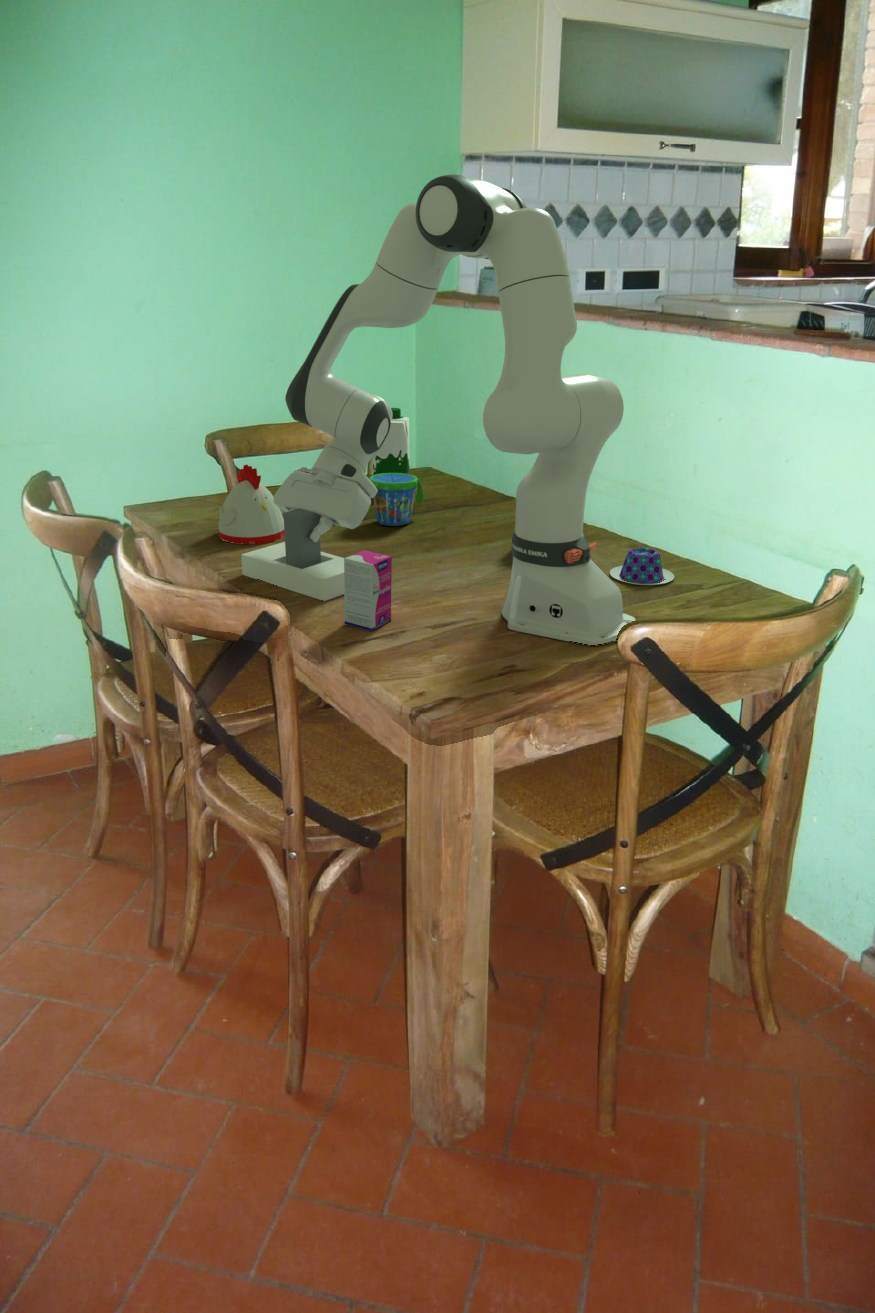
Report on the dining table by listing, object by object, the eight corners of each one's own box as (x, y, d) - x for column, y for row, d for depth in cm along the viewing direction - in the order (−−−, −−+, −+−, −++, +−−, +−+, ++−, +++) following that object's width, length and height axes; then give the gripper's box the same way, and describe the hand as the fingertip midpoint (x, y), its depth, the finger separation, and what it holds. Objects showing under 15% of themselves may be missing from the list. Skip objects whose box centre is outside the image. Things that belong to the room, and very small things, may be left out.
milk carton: (412, 489, 249) (412, 408, 241) (405, 497, 241) (404, 414, 233) (378, 487, 250) (376, 406, 242) (370, 496, 242) (368, 412, 234)
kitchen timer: (240, 549, 201) (235, 476, 196) (207, 534, 211) (200, 464, 205) (298, 536, 210) (294, 466, 204) (263, 523, 219) (258, 455, 213)
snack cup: (411, 512, 228) (410, 468, 224) (436, 523, 220) (436, 477, 216) (351, 522, 220) (350, 477, 216) (375, 533, 212) (374, 486, 208)
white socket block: (368, 585, 181) (367, 564, 179) (324, 601, 173) (323, 579, 172) (286, 561, 194) (285, 541, 192) (242, 574, 186) (241, 554, 185)
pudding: (655, 593, 179) (658, 565, 177) (597, 579, 186) (599, 552, 184) (684, 576, 188) (687, 550, 186) (628, 564, 195) (630, 538, 193)
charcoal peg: (321, 570, 183) (318, 512, 179) (303, 576, 180) (300, 517, 176) (304, 565, 186) (301, 507, 181) (286, 570, 183) (283, 512, 178)
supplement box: (373, 632, 160) (371, 564, 156) (343, 624, 163) (341, 558, 158) (393, 621, 165) (392, 555, 160) (364, 614, 168) (362, 549, 163)
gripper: (288, 456, 187) (251, 517, 183) (367, 472, 175) (329, 538, 171) (306, 475, 191) (271, 535, 188) (384, 492, 179) (348, 556, 176)
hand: (299, 536), depth 180 cm, fingers closed on charcoal peg, 4 cm apart
